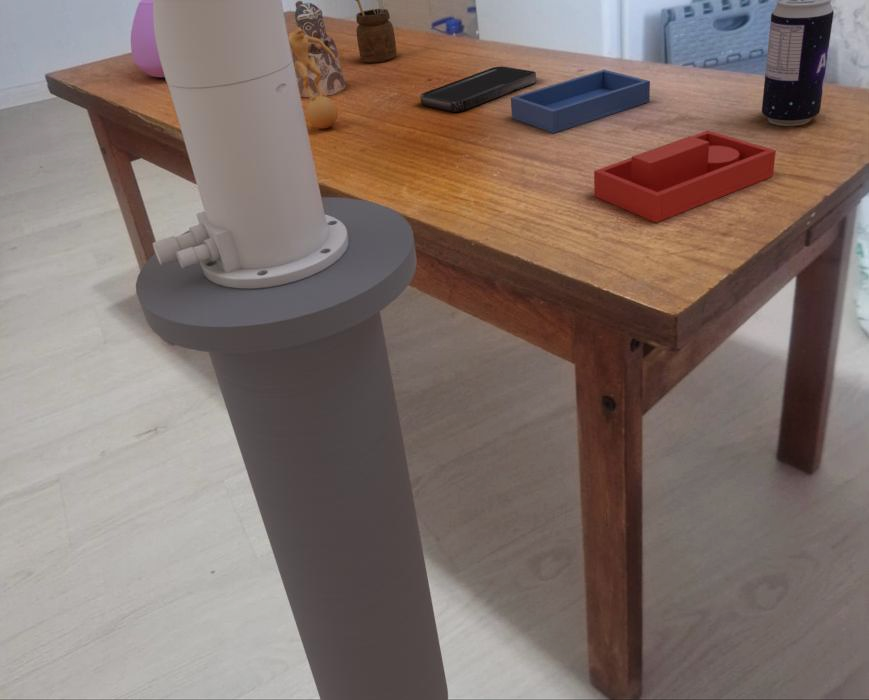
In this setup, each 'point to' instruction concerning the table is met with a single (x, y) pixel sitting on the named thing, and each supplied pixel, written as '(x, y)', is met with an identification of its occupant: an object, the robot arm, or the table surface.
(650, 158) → the red block with disc
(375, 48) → the utensil holder
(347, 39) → the table surface
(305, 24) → the figurine
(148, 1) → the teapot
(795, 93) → the beverage can
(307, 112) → the figurine
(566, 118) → the blue tray
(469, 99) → the phone
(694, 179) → the red tray
